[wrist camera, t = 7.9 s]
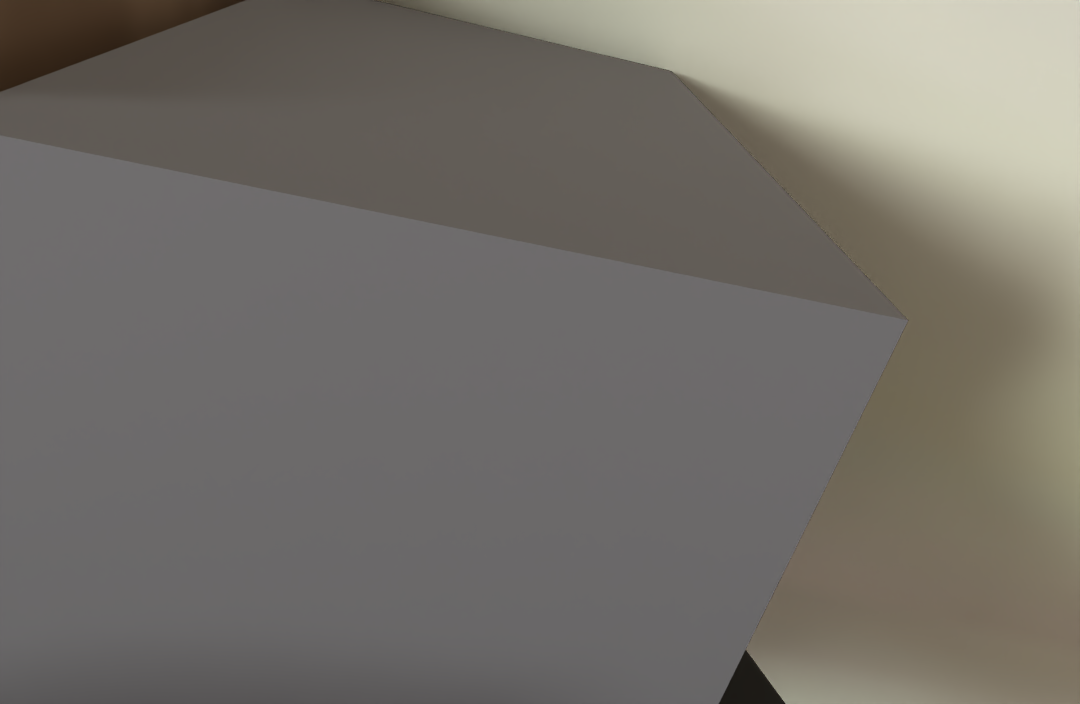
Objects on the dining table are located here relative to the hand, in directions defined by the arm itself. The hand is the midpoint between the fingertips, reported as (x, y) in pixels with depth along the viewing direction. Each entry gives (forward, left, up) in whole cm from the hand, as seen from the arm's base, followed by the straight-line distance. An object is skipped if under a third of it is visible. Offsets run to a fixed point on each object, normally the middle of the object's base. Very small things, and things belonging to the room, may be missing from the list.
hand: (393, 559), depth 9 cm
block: (+2, 0, -3) cm, 3 cm away
